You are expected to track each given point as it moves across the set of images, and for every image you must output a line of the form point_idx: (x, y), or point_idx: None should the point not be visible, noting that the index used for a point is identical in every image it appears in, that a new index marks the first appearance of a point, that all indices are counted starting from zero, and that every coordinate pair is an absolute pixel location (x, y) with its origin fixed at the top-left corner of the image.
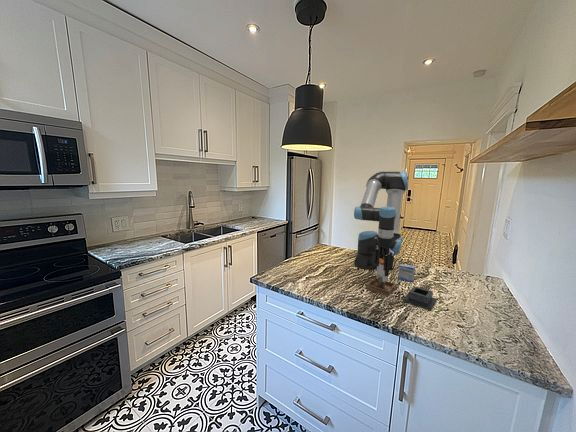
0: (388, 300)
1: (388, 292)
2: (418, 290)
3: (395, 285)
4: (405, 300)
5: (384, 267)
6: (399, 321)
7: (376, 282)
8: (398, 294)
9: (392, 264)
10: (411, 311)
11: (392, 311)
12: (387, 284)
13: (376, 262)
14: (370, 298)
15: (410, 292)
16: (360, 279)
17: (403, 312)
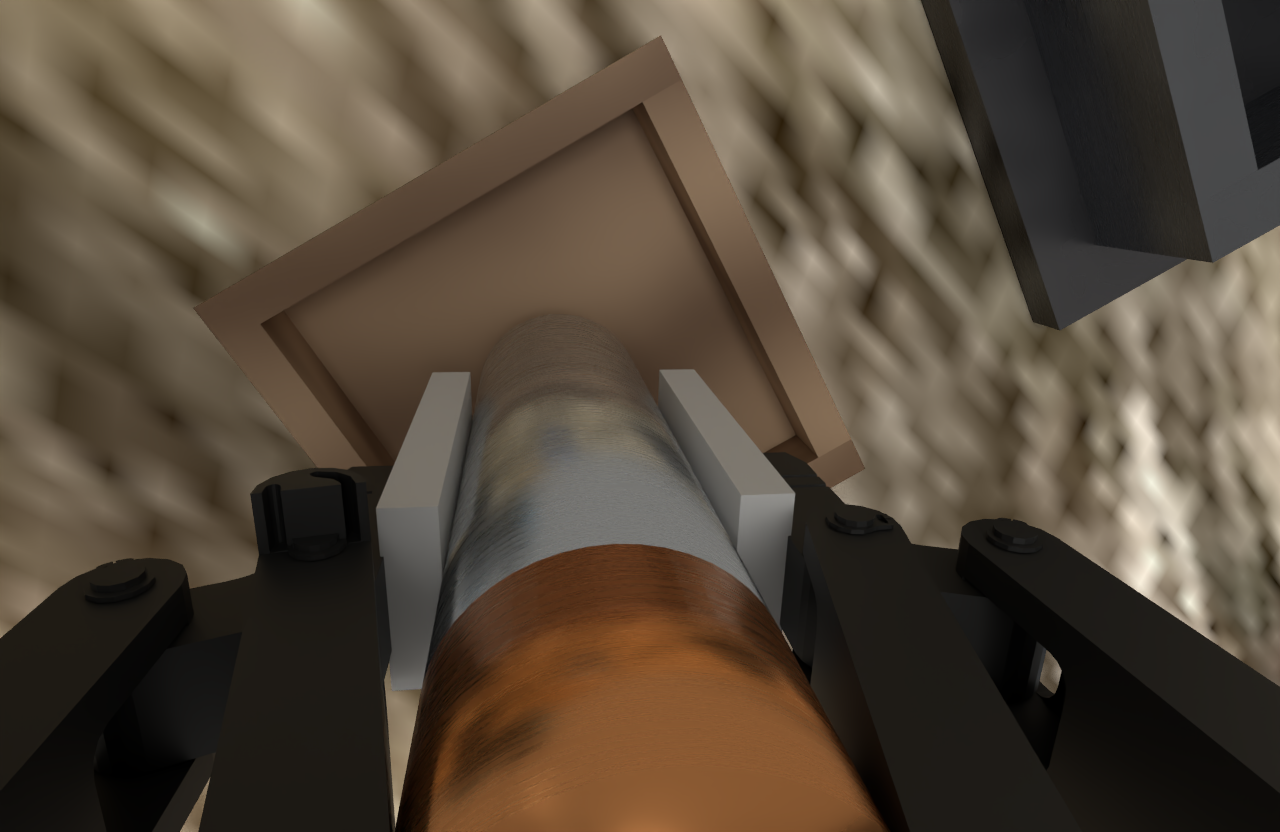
0: (913, 507)
1: (856, 464)
2: None
3: (702, 124)
4: (1086, 309)
5: None
6: (1272, 676)
7: (325, 319)
8: (839, 206)
9: (1238, 700)
10: (1243, 405)
11: None
12: (510, 179)
13: (213, 740)
14: None
15: (1236, 246)
16: (55, 503)
17: (1201, 520)
